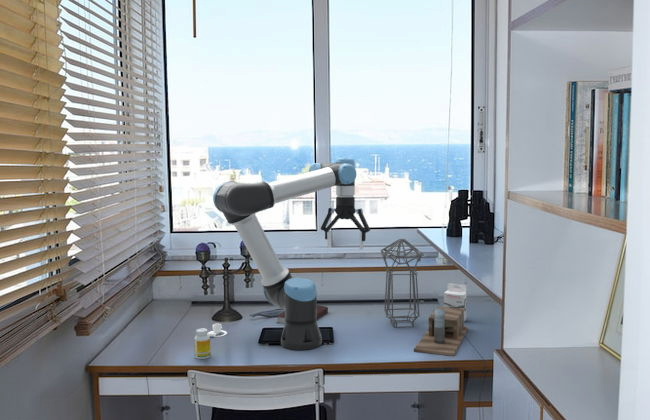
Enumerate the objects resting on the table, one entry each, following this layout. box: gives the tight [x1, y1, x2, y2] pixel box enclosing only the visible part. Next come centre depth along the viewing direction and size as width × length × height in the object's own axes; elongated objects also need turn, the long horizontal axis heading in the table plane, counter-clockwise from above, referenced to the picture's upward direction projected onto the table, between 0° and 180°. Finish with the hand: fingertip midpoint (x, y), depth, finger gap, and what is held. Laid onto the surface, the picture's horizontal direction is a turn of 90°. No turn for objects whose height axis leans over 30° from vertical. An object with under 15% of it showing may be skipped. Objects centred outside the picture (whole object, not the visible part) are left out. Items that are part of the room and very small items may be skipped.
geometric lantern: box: [380, 238, 425, 329], centre depth 242 cm, size 16×16×35 cm
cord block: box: [433, 308, 454, 344], centre depth 227 cm, size 22×6×12 cm, turn 158°
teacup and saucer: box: [207, 323, 228, 338], centre depth 236 cm, size 9×8×4 cm
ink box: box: [443, 282, 468, 322], centre depth 248 cm, size 8×5×15 cm, turn 61°
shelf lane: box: [413, 306, 469, 357], centre depth 224 cm, size 32×14×8 cm, turn 158°
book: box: [276, 304, 329, 325], centre depth 256 cm, size 14×22×4 cm, turn 156°
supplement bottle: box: [193, 327, 211, 360], centre depth 210 cm, size 5×5×10 cm
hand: (345, 248), depth 245 cm, fingers open, 13 cm apart
